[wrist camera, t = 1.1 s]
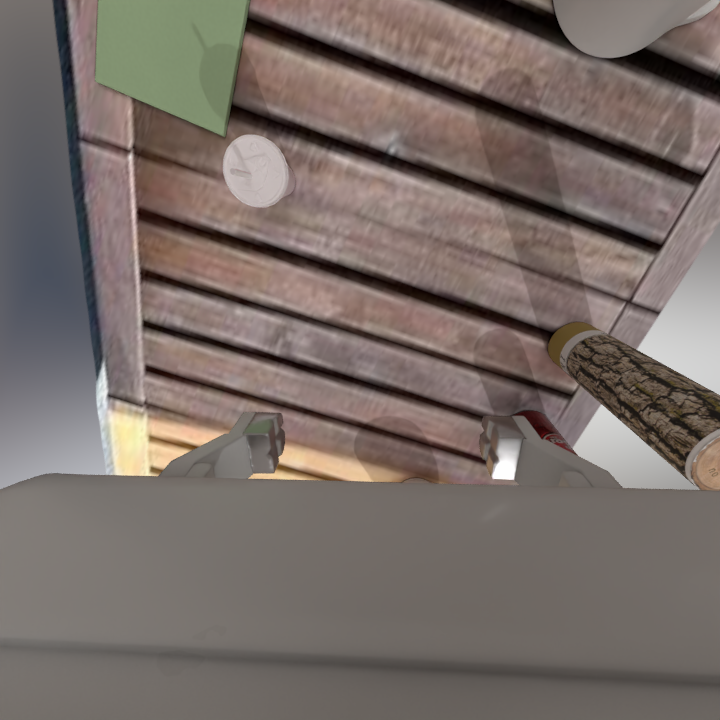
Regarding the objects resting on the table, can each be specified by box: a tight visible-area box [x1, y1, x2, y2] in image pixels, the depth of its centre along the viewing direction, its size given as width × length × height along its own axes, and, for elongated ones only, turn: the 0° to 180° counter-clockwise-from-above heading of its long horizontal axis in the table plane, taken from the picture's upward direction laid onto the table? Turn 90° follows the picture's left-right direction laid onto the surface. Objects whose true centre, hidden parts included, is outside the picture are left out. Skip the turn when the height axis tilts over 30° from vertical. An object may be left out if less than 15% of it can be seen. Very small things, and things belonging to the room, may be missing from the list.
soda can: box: [513, 411, 578, 456], centre depth 49 cm, size 7×7×12 cm
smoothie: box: [223, 134, 295, 208], centre depth 35 cm, size 6×6×14 cm
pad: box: [95, 0, 250, 137], centre depth 35 cm, size 20×15×1 cm
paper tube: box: [548, 322, 720, 491], centre depth 37 cm, size 7×7×25 cm
